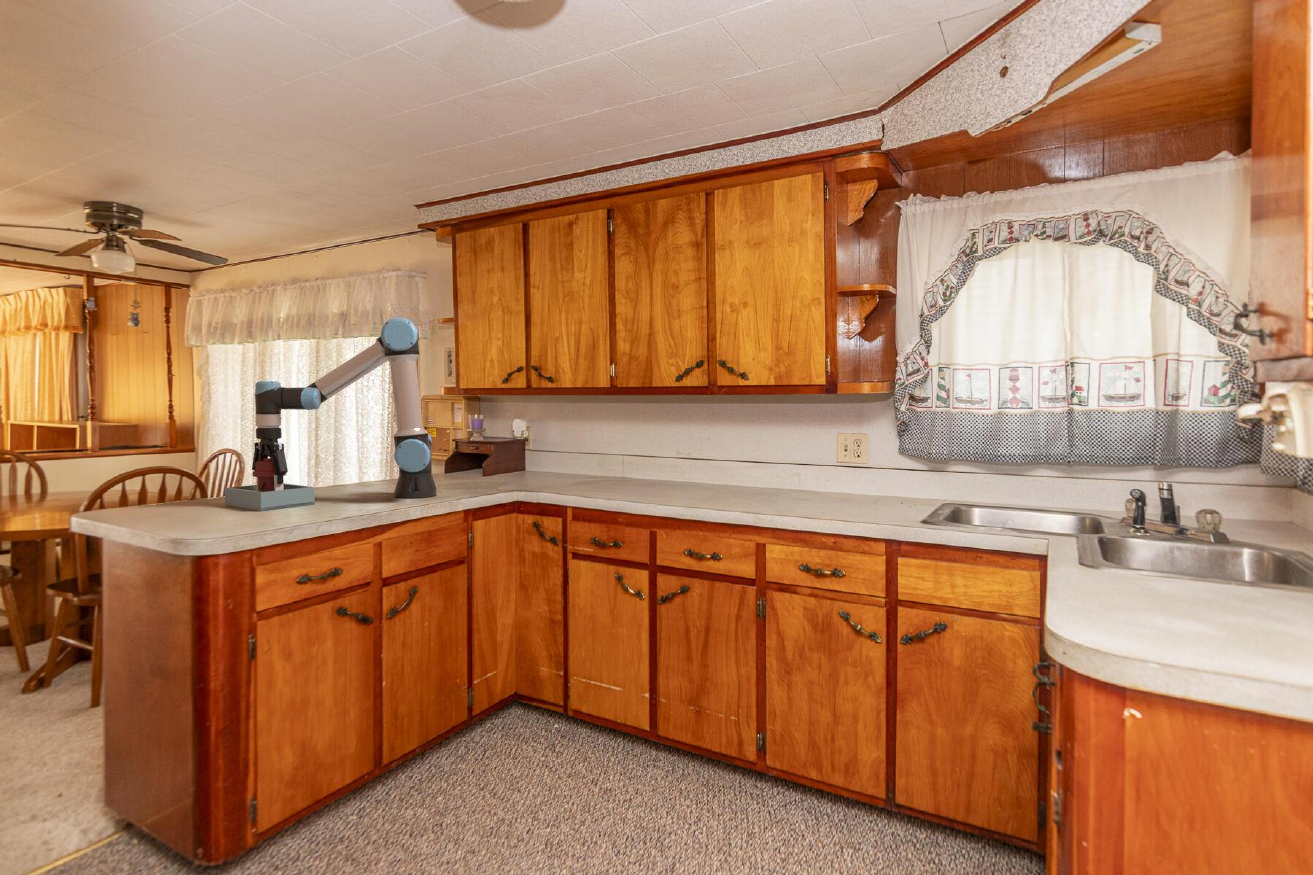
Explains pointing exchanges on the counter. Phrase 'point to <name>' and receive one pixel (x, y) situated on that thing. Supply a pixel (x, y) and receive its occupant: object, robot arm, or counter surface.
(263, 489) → the mechanical component
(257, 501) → the tote
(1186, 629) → the counter surface
